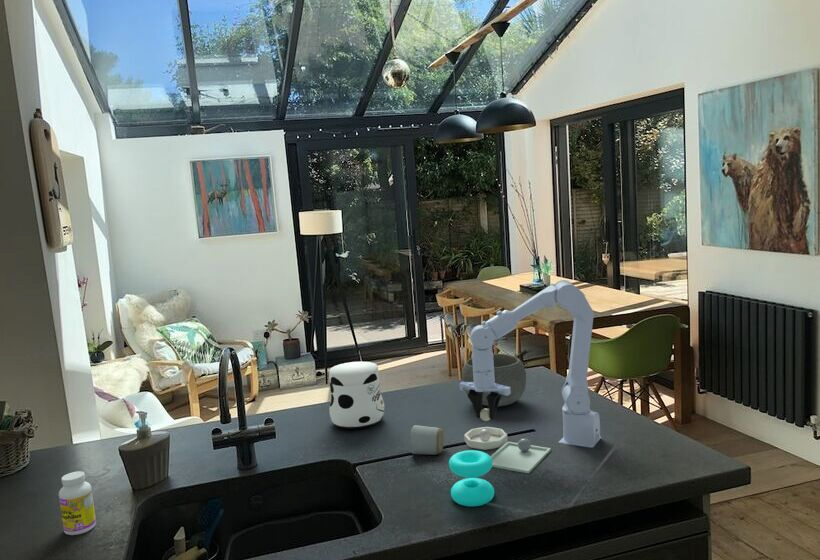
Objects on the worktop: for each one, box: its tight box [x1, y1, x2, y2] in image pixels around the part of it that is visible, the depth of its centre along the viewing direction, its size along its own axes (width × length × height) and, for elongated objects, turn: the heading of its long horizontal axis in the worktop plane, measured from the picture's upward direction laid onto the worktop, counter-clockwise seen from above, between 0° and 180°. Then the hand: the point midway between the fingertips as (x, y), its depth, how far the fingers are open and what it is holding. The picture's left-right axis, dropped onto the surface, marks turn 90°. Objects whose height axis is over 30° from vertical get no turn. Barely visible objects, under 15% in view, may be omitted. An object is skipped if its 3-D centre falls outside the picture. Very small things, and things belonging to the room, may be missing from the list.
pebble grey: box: [479, 429, 491, 442], centre depth 179 cm, size 3×3×3 cm
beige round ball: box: [480, 407, 491, 422], centre depth 176 cm, size 3×3×3 cm
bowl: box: [461, 353, 527, 407], centre depth 210 cm, size 21×21×15 cm
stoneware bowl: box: [463, 426, 509, 450], centre depth 179 cm, size 11×11×2 cm
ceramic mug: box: [409, 424, 445, 456], centre depth 176 cm, size 11×8×8 cm
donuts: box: [448, 449, 495, 507], centre depth 147 cm, size 10×10×10 cm
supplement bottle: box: [58, 470, 97, 536], centre depth 146 cm, size 7×7×13 cm
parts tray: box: [489, 441, 552, 475], centre depth 166 cm, size 12×15×1 cm
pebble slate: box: [517, 437, 532, 452], centre depth 170 cm, size 3×3×3 cm
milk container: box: [328, 361, 385, 430], centre depth 202 cm, size 17×17×18 cm
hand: (486, 417), depth 176 cm, fingers closed on beige round ball, 3 cm apart
